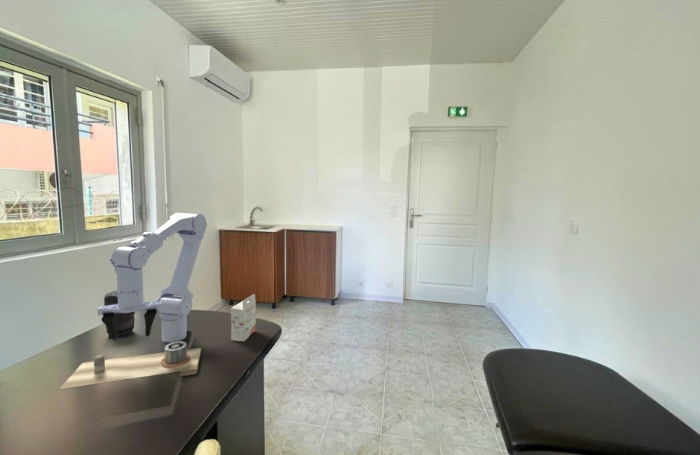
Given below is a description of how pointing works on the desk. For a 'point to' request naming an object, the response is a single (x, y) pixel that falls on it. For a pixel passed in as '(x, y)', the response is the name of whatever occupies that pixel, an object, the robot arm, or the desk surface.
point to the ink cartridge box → (243, 319)
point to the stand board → (131, 368)
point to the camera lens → (120, 317)
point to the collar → (175, 353)
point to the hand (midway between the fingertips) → (132, 336)
